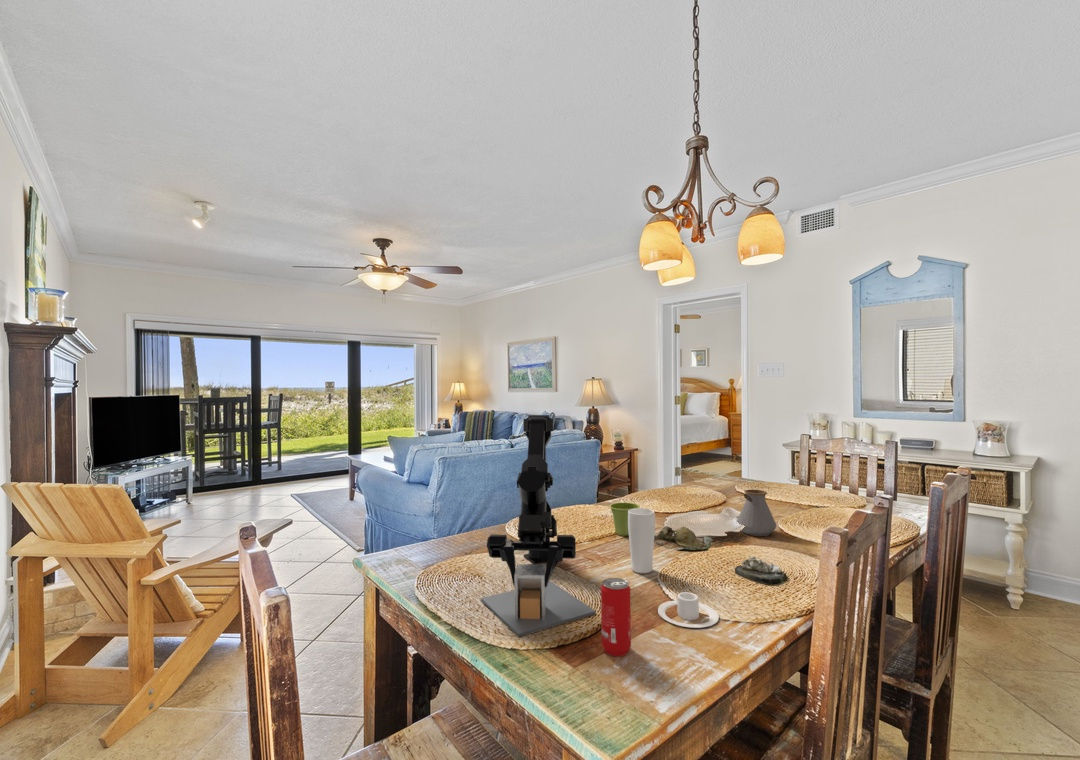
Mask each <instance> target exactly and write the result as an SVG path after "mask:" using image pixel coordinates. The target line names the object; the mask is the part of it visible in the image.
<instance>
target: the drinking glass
mask: <svg viewBox="0 0 1080 760" xmlns="http://www.w3.org/2000/svg"><path fill="white" fill-rule="evenodd" d="M655 513H656V512H655V511H654V510H653V509H650V508H645V507H643V508H642V507H640V508H633V509H630V510H629V511H628V532H629V535H628V539H629V540H628V541H629V551H630V553H629V554H630V564H631V565H630V567H631V570H632V571H633V572H635V573H637V574H651V572H652V571H653V564H654V550H655V549H654V548H655V547H654V546H655V538H654V537H655V535H656V515H655Z"/></svg>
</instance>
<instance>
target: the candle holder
mask: <svg viewBox="0 0 1080 760" xmlns="http://www.w3.org/2000/svg"><path fill="white" fill-rule="evenodd" d="M699 599H700V598H699V596H698V595H697V594H695V593H692V592H690V591H688V592H687V591H684V592H679V593H678V594H677V600H669V601H665V602H662V603H661V604H660V605H659V606H658V608H657V613H658V615H659V617H660V618H662V619H663V620H664V621H666V622H668V623H670V624H672V625H675V626H679V627H683V628H684V627H685V628H691V629H692V628H693V629H701V628H707V627H712V626H714V625H715V624H716V623H717V622H718V621H719V620H720V619H719V618H720V616H719V613H718V612H717V611H716V610H715V609H714V608H712V607H710V606H708V605H706V604H704V603H701V602H700V601H699ZM673 606H677V615H678V617H680V619H683V620H688V621H694V620H697V619H699V617H700V610H703V611H704V612H706V613H707V615H708V616H709V620H708V621H706V622H703V623H697V624H696V623H695V624H692V623H684V622H679V621H677V620H674V619H672V618H670V617H668V616H667V614H666V610H667V609H669V608H671V607H673Z"/></svg>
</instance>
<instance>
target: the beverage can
mask: <svg viewBox="0 0 1080 760" xmlns="http://www.w3.org/2000/svg"><path fill="white" fill-rule="evenodd" d="M600 600H601V601H600V604H601V605H600V607H601V609H600V612H601V615H600V616H601V617H600V619H601V627H600V628H601V645H602V648H603V651H604V653H606V654H607V655H609V656H611V657H616V658H618V657H620V658H621V657H624V656H627V654H629V652H630V651H629V650H630V649H631V647H632V638H631V637H632V629H631V628H632V625H631V623H632V622H631V618H632V617H631V611H632V610H631V587H630V583H629V582H628V581H627V580H626V579H624V578H619V577H608V578H605V579H603V580H602V582H601V586H600Z"/></svg>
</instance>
